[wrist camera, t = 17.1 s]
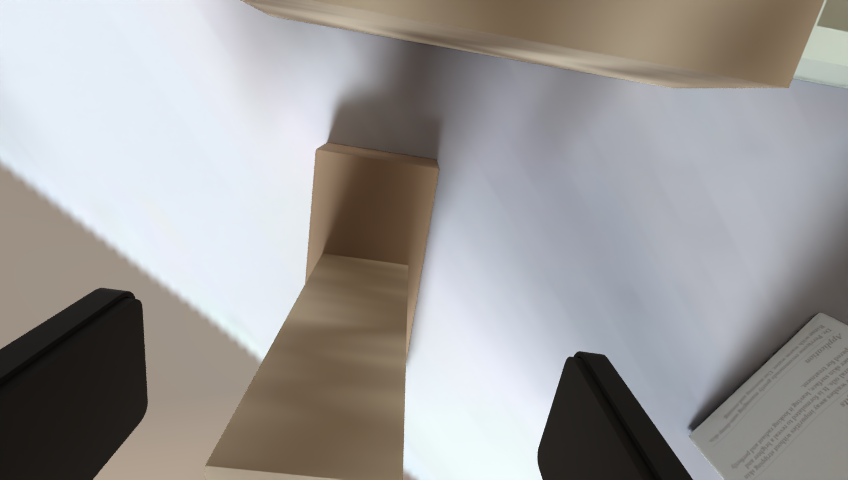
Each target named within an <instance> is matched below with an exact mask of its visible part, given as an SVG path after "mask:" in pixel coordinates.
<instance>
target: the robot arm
mask: <svg viewBox="0 0 848 480" xmlns="http://www.w3.org/2000/svg"><path fill="white" fill-rule="evenodd" d="M145 364H146V363H145V345H144V327H143V310H142V304H141V302H140V300H137V299H135V296H134V294H133V293H131V292H129V291H122V290H114V289H106V288H99V289H96V290H94V291H93V292H91V293H90V294H88V295H86V296H85V297H83V298H82V299H80V300H78V301H77V302H75V303H74V304H72V305H70V306H69V307H68V308H66V309H64V310H62V311H61V312H59V313H58V314H56V315H55V316H53V317H51V318H50V319H48V320H47V321H45V322H44V323H42V324H40V325H39V326H37V327H36V328H34V329H32V330H31V331H29V332H27V333H26V334H24V335H23V336H21V337H19V338H18V339H16V340H15V341H13V342H11V343H10V344H8V345H7V346H5V347H4V348H2V349H0V480H93V478H94V477H95V476H96V475H97V474H98V472H99V471H100V470H101V469H102V468H103V466H104V465H105V464H106V463H107V462H108V460H109V459H110V458H111V457H112V456H113V454H114V453H115V452H116V451H117V450H118V448H119V447H120V446H121V445H122V444H123V442H124V441H125V440H126V439H127V437H128V436H129V435H130V434H131V433H132V431H133V430H134V429H135V428H136V427H137V425H138V424H139V423H140V422H141V420H142V419H143V417H144V415H145V413H146V409H147V404H148V401H147V400H148V399H147V381H146V365H145ZM538 466H539V469H540V473H541V476H542V479H543V480H693V479H692V478H691V476H690V475H689V473H688V472H687V470H686V469H685V468H684V466H683V465H682V463H681V462H680V460H679V459H678V458H677V456H676V455H675V453H674V452H673V451H672V449H671V448H670V446H669V445H668V443H667V442H666V441H665V439H664V438H663V436H662V435H661V434H660V432H659V431H658V429H657V428H656V426H655V425H654V424H653V422H652V421H651V419H650V418H649V416H648V415H647V414H646V412H645V411H644V409H643V408H642V407H641V405H640V404H639V402H638V401H637V399H636V398H635V397H634V395H633V394H632V392H631V391H630V389H629V388H628V387H627V385H626V384H625V382H624V381H623V380H622V378H621V377H620V375H619V374H618V372H617V371H616V370H615V368H614V367H613V365H612V364H611V363H610V361H609V360H608V358H607V357H606V356H605V355H602V354H595V353H588V352H580V351H579V352H577V353H576V354H575V355H574V357H568V358H567V360H566V362H565V365H564V368H563V371H562V374H561V378H560V381H559V384H558V387H557V390H556V394H555V397H554V400H553V403H552V407H551V410H550V413H549V416H548V419H547V423H546V426H545V429H544V432H543V435H542V439H541V442H540V445H539V448H538Z"/></svg>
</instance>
